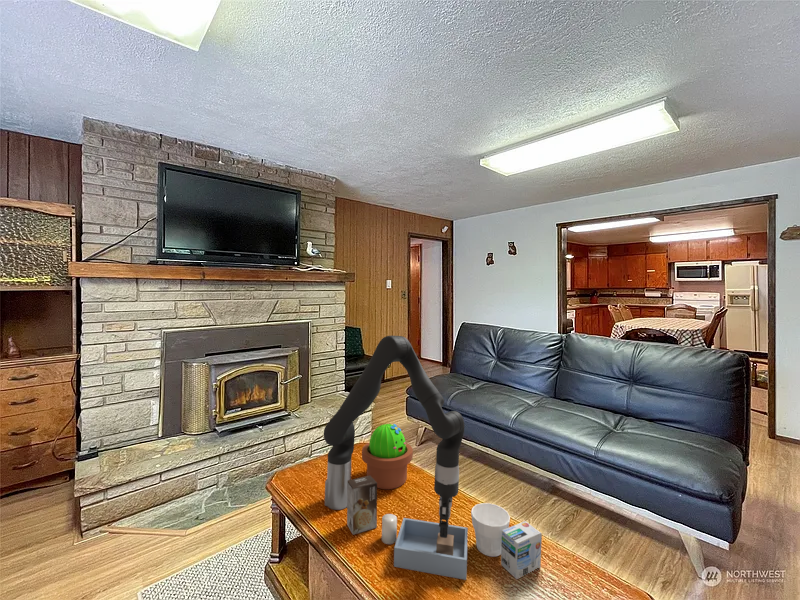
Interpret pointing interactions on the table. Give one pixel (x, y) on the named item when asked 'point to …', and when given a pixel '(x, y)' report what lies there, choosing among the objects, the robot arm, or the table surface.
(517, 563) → the light bulb box
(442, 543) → the cube
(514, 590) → the table surface
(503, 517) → the cup
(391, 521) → the white rounded cylinder
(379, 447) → the potted cactus
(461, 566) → the tote
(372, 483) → the coffee box
